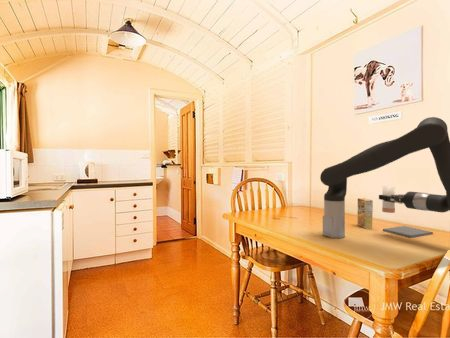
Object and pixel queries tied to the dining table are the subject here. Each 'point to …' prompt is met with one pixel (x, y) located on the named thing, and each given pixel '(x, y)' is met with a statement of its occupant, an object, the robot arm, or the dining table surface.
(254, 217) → the dining table surface
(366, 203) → the candy box
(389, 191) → the white cylindrical lamp
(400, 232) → the mat
